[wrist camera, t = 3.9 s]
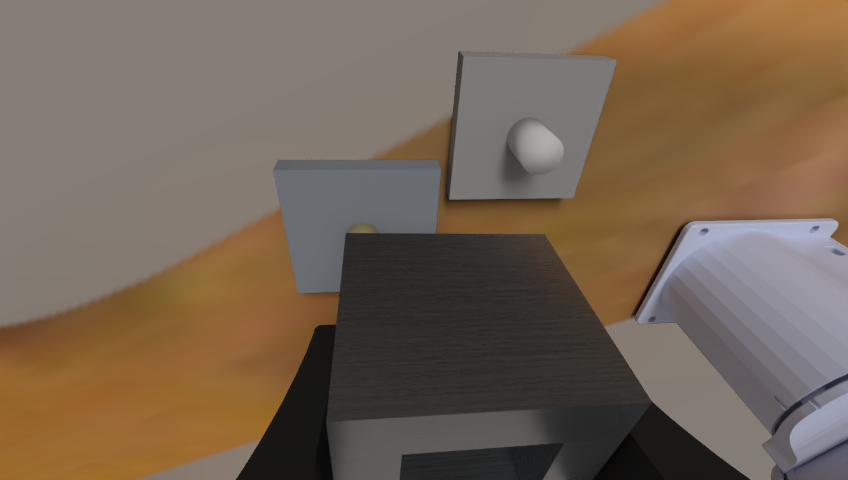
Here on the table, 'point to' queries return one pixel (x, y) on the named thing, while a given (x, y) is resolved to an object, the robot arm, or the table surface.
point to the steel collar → (471, 363)
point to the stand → (523, 123)
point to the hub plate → (350, 209)
